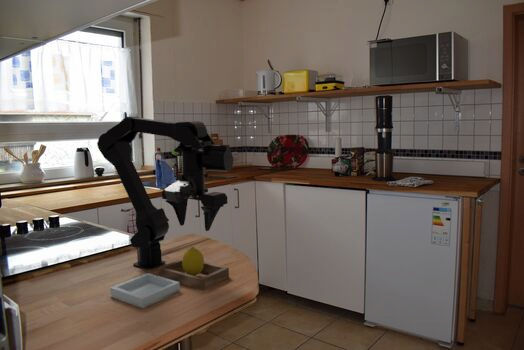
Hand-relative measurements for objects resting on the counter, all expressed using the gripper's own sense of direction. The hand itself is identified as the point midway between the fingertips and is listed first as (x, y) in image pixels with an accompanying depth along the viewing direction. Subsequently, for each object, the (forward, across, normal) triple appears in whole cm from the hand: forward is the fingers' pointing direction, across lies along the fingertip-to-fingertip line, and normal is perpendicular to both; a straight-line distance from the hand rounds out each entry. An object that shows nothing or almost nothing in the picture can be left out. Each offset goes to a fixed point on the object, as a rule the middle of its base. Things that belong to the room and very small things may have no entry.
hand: (194, 227), depth 116 cm
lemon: (+12, +3, -4) cm, 13 cm away
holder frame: (+12, +3, -4) cm, 13 cm away
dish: (+12, +1, -18) cm, 21 cm away
